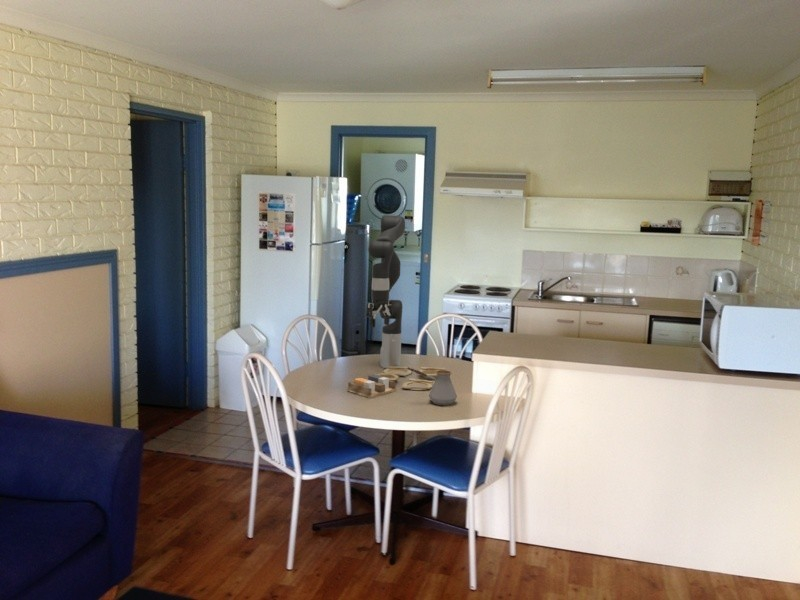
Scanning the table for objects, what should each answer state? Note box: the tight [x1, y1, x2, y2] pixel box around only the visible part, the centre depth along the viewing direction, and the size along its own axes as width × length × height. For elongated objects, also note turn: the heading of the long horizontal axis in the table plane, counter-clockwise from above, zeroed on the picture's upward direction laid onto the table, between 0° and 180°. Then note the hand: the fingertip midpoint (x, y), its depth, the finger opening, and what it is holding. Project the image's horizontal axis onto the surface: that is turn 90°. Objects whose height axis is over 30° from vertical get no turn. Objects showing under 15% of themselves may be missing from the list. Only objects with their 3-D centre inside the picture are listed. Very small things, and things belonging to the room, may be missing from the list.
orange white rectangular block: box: [353, 377, 375, 393], centre depth 294 cm, size 9×4×4 cm, turn 49°
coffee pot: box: [406, 366, 458, 406], centre depth 282 cm, size 21×12×15 cm, turn 97°
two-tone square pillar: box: [367, 374, 389, 389], centre depth 300 cm, size 9×4×4 cm, turn 48°
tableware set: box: [375, 366, 447, 391], centre depth 317 cm, size 35×29×4 cm
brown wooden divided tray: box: [346, 380, 397, 399], centre depth 297 cm, size 14×16×4 cm
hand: (379, 325), depth 296 cm, fingers open, 8 cm apart
